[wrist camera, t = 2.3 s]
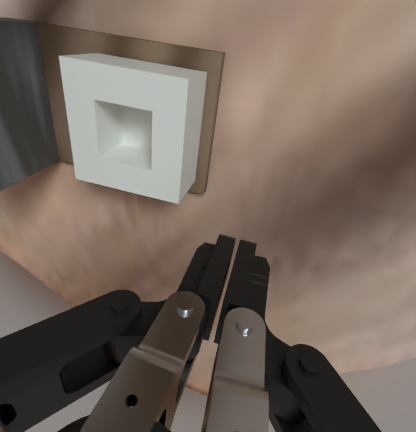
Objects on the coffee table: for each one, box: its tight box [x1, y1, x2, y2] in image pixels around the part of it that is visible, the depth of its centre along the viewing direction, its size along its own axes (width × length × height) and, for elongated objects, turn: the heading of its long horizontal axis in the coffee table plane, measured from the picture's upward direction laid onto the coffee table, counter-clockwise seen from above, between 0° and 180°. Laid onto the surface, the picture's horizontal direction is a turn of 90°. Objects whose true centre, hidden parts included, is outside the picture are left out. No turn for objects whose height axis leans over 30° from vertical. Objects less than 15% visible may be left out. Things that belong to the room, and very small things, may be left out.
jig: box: [0, 18, 225, 195], centre depth 24 cm, size 20×13×13 cm, turn 83°
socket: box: [59, 53, 207, 204], centre depth 25 cm, size 10×10×5 cm
